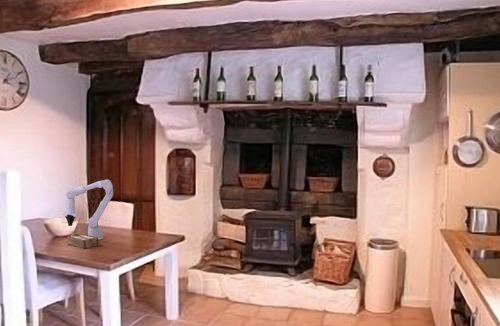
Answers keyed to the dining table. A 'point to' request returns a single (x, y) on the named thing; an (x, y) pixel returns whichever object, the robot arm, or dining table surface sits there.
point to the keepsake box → (83, 242)
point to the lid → (80, 236)
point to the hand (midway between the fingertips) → (70, 225)
